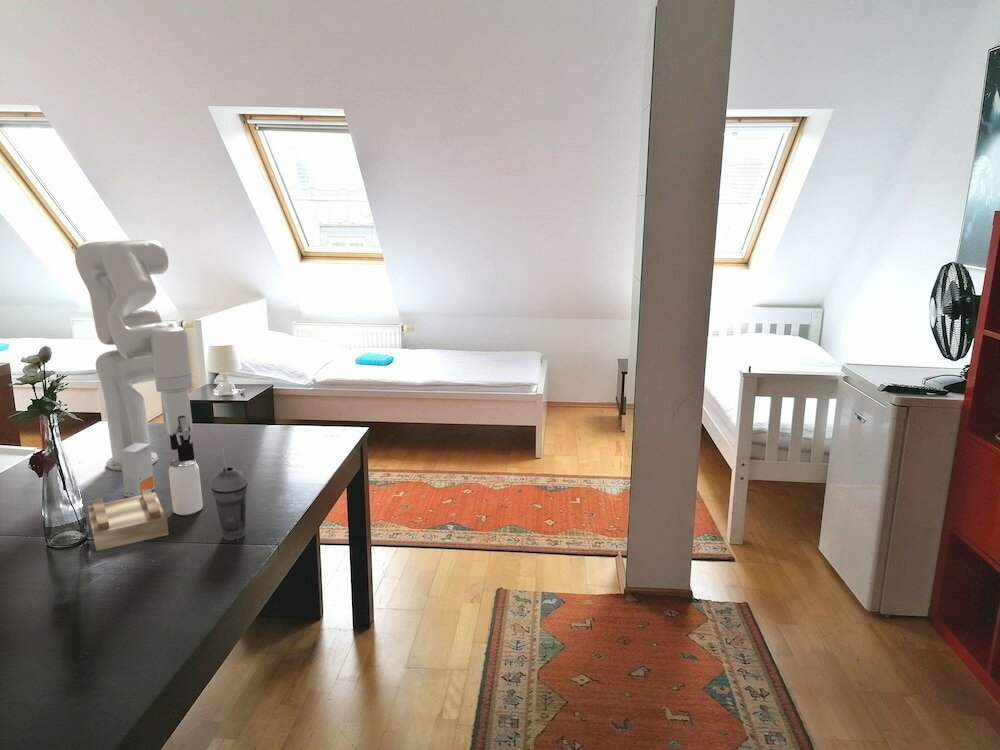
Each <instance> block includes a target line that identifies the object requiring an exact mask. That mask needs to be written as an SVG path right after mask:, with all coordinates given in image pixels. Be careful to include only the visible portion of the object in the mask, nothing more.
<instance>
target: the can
mask: <svg viewBox="0 0 1000 750" xmlns="http://www.w3.org/2000/svg"><path fill="white" fill-rule="evenodd" d="M168 477H169V478H168V480H169V488H170V496H171V503H172V504H171V505H172V511H173V513H174V514H175V513H176V515H177V514H178V516H190V514H191V515H194V514H197V513H199V512H201V510H202V509H203V507H204V506H203V496H202V486H201V476H200V467H199V465H198V463H197V460H196V459H195V458H194V460H190V461H184V462H180V461H179V458H177V459H174V460H173V461H171V462H169V468H168ZM198 511H199V512H198ZM196 512H197V513H196ZM193 513H194V514H193ZM188 514H189V515H188Z"/></svg>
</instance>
